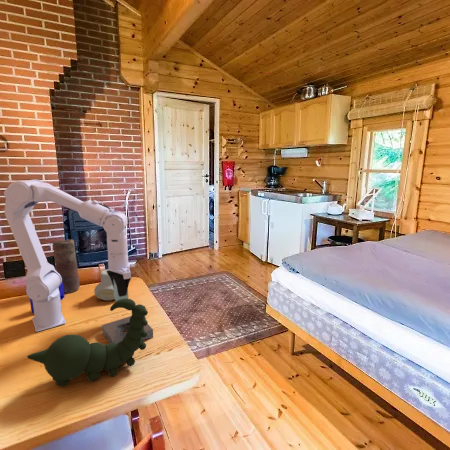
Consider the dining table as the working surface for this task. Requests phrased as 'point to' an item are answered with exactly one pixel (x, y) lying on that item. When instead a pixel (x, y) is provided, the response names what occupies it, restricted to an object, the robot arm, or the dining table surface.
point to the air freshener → (105, 287)
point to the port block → (121, 330)
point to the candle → (66, 264)
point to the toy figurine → (94, 350)
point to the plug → (118, 294)
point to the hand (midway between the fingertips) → (120, 293)
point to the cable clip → (61, 290)
